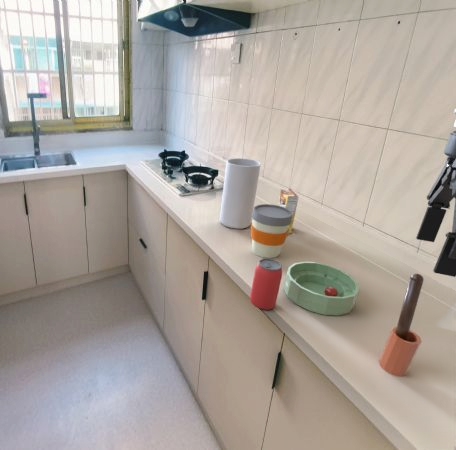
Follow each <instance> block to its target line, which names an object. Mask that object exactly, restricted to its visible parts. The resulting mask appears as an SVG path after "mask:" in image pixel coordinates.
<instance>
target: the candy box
mask: <svg viewBox="0 0 456 450" xmlns="http://www.w3.org/2000/svg"><path fill="white" fill-rule="evenodd" d="M298 201H299V195H297V194H296V193H295V192H294V190H293V189H292V188H280V193H279V197H278V205H277V206H281V207H284V208H287V209H289V210H290V211H291V212H292V222H291V224H290V225H289V232H288V234H292V231H293V226H294V220H295V216H296V212H297V206H298Z"/></svg>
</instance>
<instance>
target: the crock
mask: <svg viewBox="0 0 456 450" xmlns="http://www.w3.org/2000/svg"><path fill="white" fill-rule="evenodd" d="M396 328H397V326H394V327H393V328H391V330H390V333H389V335H388V338H387V339H386V342H385V344H384V347H383V349H382V352H381V354H380V356H379V359H378V363H379V366H380V367H381V369H383V370H384V371H385V372H386V373H388V374H390V375H392V376H395V377H405V376H406V375H407V374H408V372H409V369H410V368H411V365H412V363H413V361H414V359H415V357H416V354H417V352H418V350H419V348H420V345H421V344H422V339H421V337H420V336H419V335H418V333H416V332H414V331H413V330H411V329H410V330H409V333H408V337H407V340H406V341H405V340H403V339H401V338H400V337H399V336H397V335H396Z"/></svg>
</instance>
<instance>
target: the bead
mask: <svg viewBox="0 0 456 450" xmlns="http://www.w3.org/2000/svg"><path fill="white" fill-rule="evenodd" d="M324 293H325V295H326V296H334V297H337V295H338V291H337V290H336V289H335V288H334V287H327V288H326V289H325V291H324Z"/></svg>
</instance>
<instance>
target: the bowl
mask: <svg viewBox="0 0 456 450" xmlns="http://www.w3.org/2000/svg"><path fill="white" fill-rule="evenodd" d="M284 281H285V282H284V285H283V291H284V293H285V295H286V296H287V298H288V299H289V300H290V301H292V302H293V303H294V304H296V305H297V306H299V307H301V308H303V309H305V310H307V311H310V312H313V313H316V314H320V315H323V316H335V317H336V316H337V317H338V316H342V315H346V314H349V313H350V312H351V311H352V310H353V309H354V308H355V305H356V302H357V299H358V296H359V294H360V286H359V283H358V282H357V281H356V279H355V278H354V277H353V276H352V275H350V274H348V273H347V272H346V271H343V270H342V269H340V268H337V267H335V266H332V265H330V264H327V263H321V262H317V261H300V262H294V263H293V264H291V265H289V266H288V267H287V272H286V276H285V280H284ZM327 287H334V288H335V289H336V290H337V291H338V295H337V297H334V296H326V295H325V293H324V291H325V289H326V288H327Z"/></svg>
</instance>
